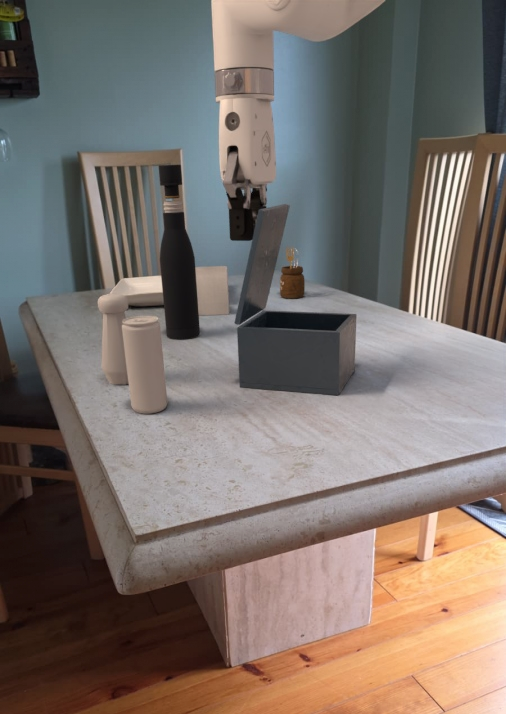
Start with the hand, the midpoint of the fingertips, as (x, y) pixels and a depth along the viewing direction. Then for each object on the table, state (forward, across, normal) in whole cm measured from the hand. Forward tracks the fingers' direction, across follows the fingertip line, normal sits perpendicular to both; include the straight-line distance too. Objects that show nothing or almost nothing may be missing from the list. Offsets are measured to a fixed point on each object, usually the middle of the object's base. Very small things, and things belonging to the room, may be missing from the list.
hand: (248, 236), depth 87 cm
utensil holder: (+21, +62, +12) cm, 66 cm away
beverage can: (+21, -17, +9) cm, 28 cm away
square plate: (+21, +56, +42) cm, 73 cm away
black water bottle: (+21, +21, +22) cm, 37 cm away
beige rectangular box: (+21, +41, +24) cm, 52 cm away
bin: (+20, 0, -7) cm, 22 cm away
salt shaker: (+21, -7, +19) cm, 29 cm away
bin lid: (+4, 0, -2) cm, 4 cm away
